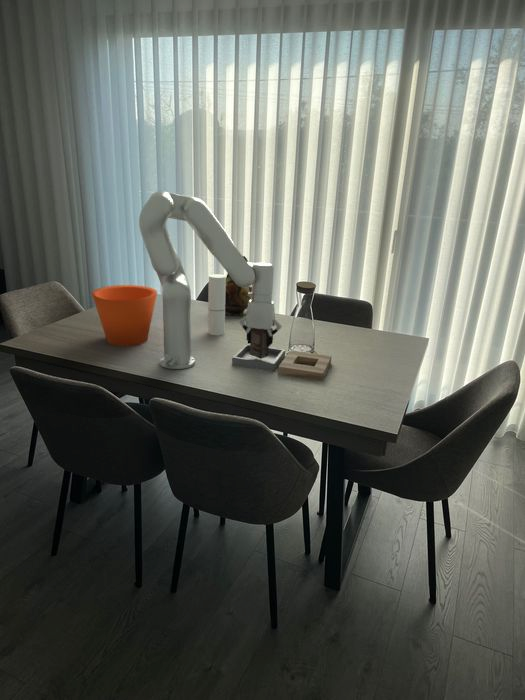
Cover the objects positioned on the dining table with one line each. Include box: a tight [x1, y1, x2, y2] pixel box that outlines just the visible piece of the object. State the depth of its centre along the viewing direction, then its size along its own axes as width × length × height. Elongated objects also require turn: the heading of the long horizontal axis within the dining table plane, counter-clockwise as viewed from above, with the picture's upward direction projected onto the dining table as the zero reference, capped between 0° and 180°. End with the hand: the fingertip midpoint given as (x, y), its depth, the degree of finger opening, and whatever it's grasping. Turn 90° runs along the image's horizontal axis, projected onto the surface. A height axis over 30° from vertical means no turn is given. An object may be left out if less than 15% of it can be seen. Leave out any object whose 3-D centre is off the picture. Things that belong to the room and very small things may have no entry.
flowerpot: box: [91, 284, 158, 347], centre depth 206 cm, size 25×25×20 cm
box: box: [249, 328, 270, 359], centre depth 191 cm, size 6×4×12 cm
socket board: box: [277, 349, 332, 382], centre depth 187 cm, size 18×16×3 cm
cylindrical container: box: [207, 273, 227, 336], centre depth 218 cm, size 7×7×25 cm
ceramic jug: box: [225, 255, 251, 316], centre depth 249 cm, size 17×15×30 cm
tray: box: [231, 343, 286, 372], centre depth 193 cm, size 16×16×3 cm
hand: (259, 343), depth 191 cm, fingers closed on box, 7 cm apart
